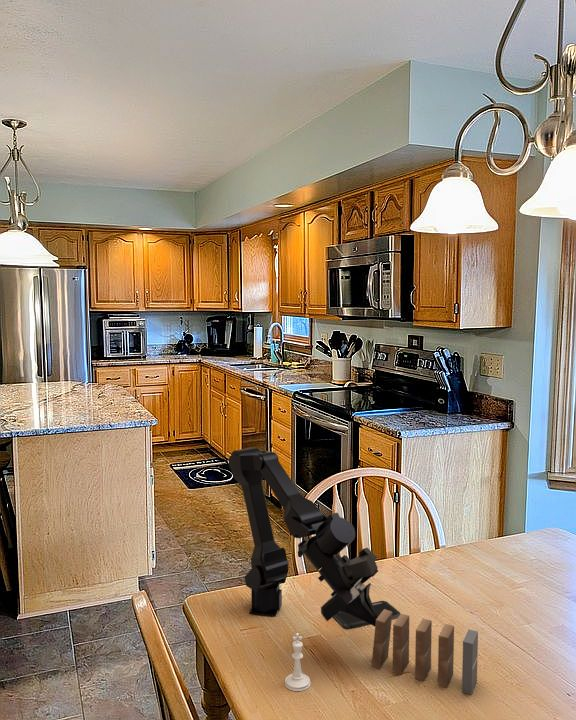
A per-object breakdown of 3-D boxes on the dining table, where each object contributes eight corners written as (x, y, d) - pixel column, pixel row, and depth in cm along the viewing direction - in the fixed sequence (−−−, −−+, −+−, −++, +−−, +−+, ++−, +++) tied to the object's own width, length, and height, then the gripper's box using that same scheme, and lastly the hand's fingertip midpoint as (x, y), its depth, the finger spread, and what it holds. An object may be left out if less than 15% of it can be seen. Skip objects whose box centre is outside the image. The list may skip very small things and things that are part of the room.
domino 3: (414, 679, 121) (415, 629, 120) (421, 666, 125) (422, 618, 124) (424, 681, 120) (425, 632, 119) (431, 668, 124) (431, 620, 123)
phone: (330, 611, 146) (384, 599, 152) (330, 616, 146) (384, 604, 152) (345, 627, 139) (402, 614, 145) (345, 631, 139) (402, 618, 145)
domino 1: (371, 666, 125) (375, 619, 123) (379, 653, 129) (384, 609, 128) (380, 669, 124) (384, 622, 123) (388, 657, 128) (392, 611, 127)
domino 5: (461, 692, 116) (462, 641, 115) (467, 678, 121) (468, 629, 120) (471, 695, 115) (473, 644, 115) (477, 681, 120) (478, 631, 119)
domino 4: (437, 685, 118) (438, 635, 118) (444, 672, 123) (444, 623, 122) (447, 688, 118) (448, 637, 117) (453, 674, 122) (454, 626, 121)
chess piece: (284, 676, 121) (283, 627, 121) (308, 675, 122) (308, 626, 121) (286, 692, 117) (285, 641, 116) (311, 690, 117) (311, 640, 116)
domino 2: (392, 673, 123) (393, 624, 122) (400, 660, 127) (400, 613, 126) (401, 675, 122) (402, 626, 121) (409, 662, 126) (409, 615, 125)
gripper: (335, 556, 119) (389, 624, 115) (369, 526, 135) (418, 585, 131) (299, 587, 123) (350, 654, 119) (336, 555, 140) (382, 613, 135)
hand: (377, 624), depth 126 cm, fingers closed
